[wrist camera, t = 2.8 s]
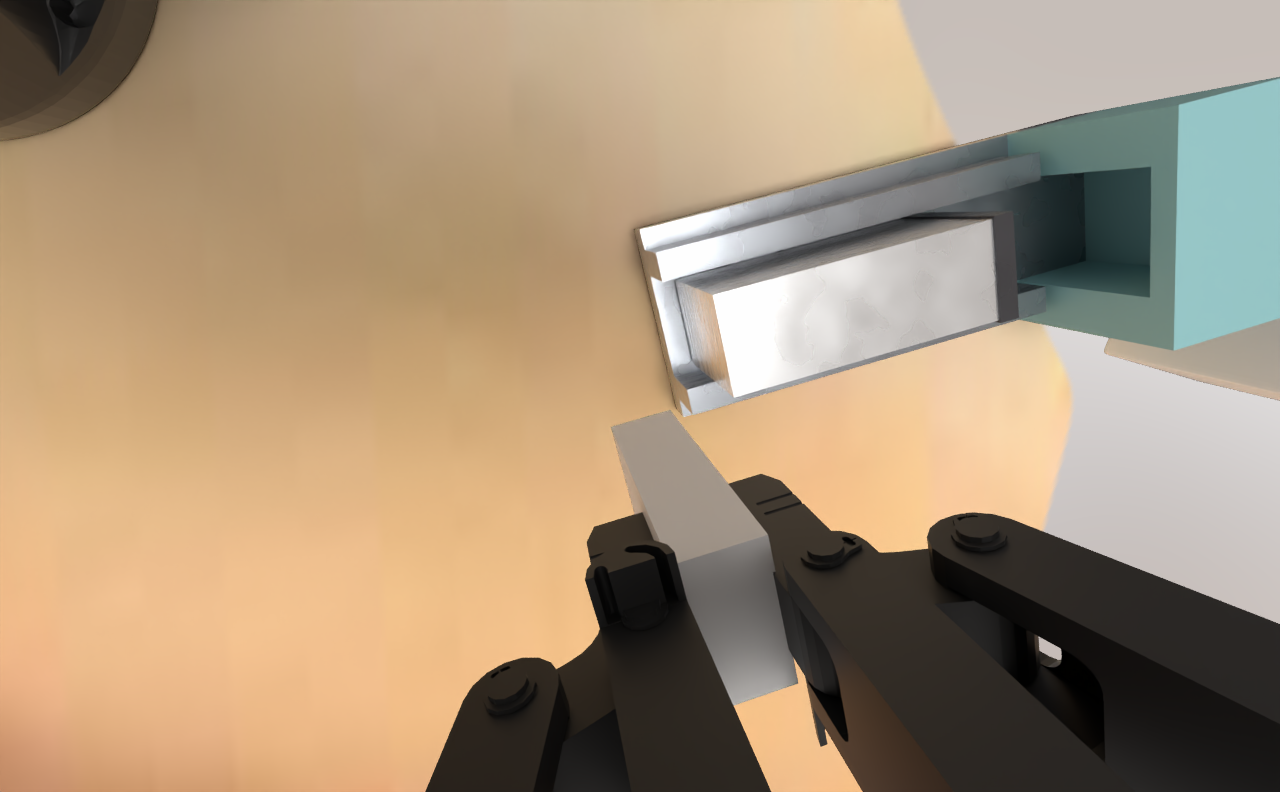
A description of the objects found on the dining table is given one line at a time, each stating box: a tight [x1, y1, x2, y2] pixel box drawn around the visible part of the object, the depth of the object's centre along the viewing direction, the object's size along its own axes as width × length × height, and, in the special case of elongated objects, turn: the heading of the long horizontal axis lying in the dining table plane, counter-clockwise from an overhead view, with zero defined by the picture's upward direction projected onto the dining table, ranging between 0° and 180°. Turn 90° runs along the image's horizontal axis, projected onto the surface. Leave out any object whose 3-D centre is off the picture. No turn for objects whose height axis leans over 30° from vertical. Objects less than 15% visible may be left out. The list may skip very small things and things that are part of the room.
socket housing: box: [1007, 77, 1280, 351], centre depth 28 cm, size 9×5×8 cm, turn 13°
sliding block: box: [675, 211, 1019, 398], centre depth 27 cm, size 4×12×6 cm, turn 103°
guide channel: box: [634, 110, 1101, 417], centre depth 30 cm, size 9×23×4 cm, turn 103°
